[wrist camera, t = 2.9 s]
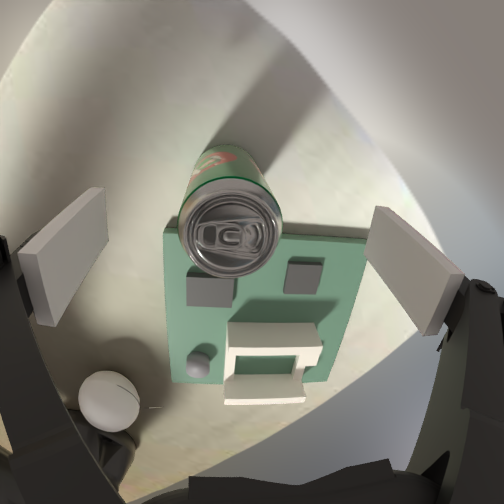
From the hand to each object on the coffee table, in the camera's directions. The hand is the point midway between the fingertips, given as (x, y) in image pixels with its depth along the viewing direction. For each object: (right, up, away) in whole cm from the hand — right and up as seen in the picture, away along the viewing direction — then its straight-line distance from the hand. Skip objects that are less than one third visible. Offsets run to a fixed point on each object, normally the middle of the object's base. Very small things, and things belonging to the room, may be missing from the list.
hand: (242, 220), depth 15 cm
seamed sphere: (-15, -17, +20) cm, 30 cm away
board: (+1, -8, +17) cm, 19 cm away
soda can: (-2, +5, +10) cm, 11 cm away
